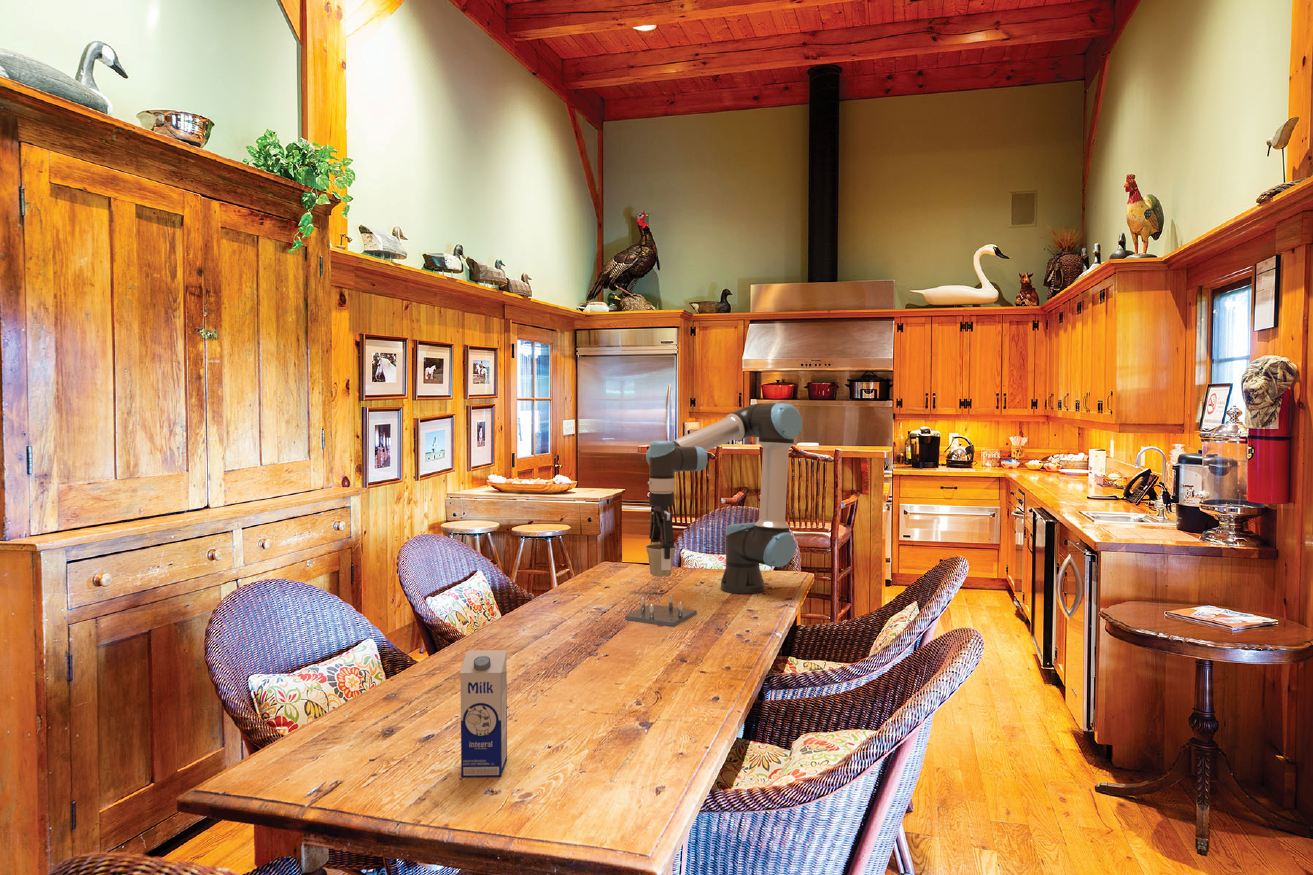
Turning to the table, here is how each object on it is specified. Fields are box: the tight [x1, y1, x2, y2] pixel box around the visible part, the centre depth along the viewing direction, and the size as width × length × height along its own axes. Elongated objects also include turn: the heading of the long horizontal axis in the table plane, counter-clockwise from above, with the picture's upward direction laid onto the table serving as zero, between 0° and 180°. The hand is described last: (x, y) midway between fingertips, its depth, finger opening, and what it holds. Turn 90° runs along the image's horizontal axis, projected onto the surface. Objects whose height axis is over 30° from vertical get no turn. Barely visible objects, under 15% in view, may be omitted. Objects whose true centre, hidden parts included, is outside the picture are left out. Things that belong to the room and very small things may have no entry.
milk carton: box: [459, 649, 508, 778], centre depth 138 cm, size 7×7×20 cm
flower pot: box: [644, 543, 678, 578], centre depth 238 cm, size 9×9×9 cm
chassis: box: [624, 594, 698, 628], centre depth 239 cm, size 16×16×5 cm
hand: (660, 566), depth 239 cm, fingers closed on flower pot, 9 cm apart
